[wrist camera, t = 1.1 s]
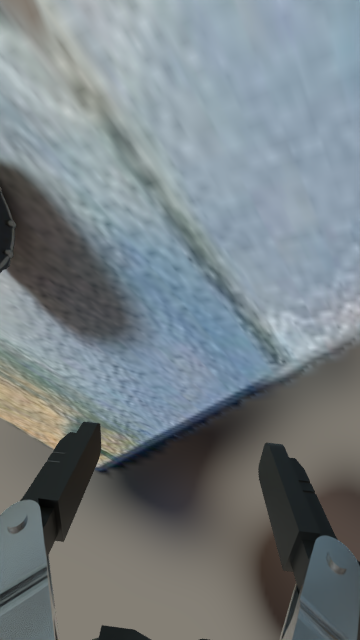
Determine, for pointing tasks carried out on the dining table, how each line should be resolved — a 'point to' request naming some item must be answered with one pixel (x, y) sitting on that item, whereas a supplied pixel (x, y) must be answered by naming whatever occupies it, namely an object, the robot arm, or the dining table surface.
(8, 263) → the dark grey drum piece
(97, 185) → the dining table surface
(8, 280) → the dining table surface
